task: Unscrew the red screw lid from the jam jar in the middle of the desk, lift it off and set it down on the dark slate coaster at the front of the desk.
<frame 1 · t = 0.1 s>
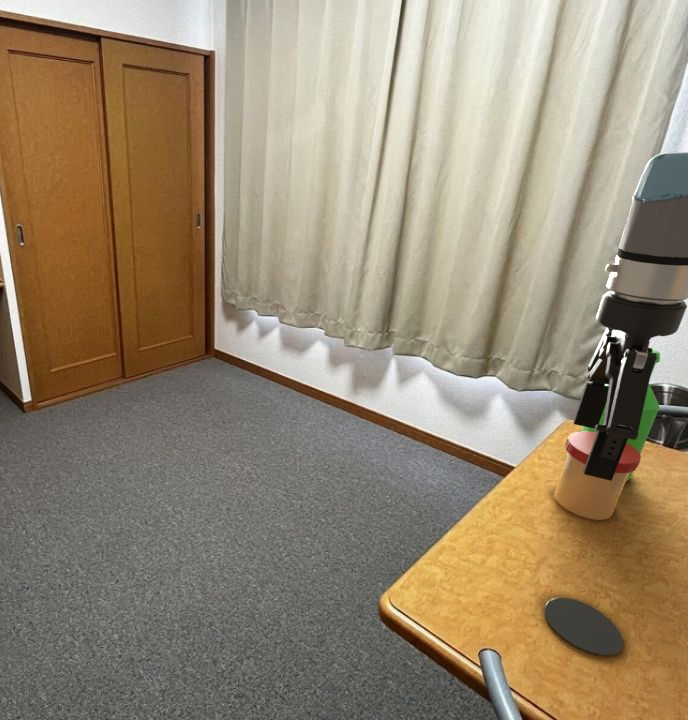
hand: (590, 448, 64), 19 cm above the table, tool pointing down, fingers open, 13 cm apart
bottle: (598, 472, 90), on the table
lid: (602, 448, 77), point 12 cm above the table, screwed on, not yet turned
jam jar: (581, 505, 81), on the table
coaster: (580, 628, 60), on the table
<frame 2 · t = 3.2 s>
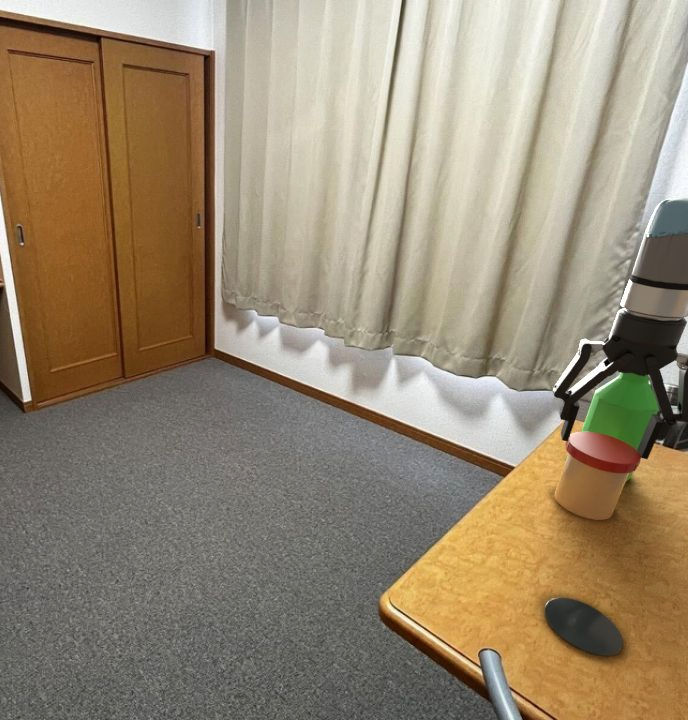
hand: (602, 445, 76), 12 cm above the table, tool pointing down
lid: (602, 448, 77), point 12 cm above the table, screwed on, not yet turned, touching gripper
everything else where it was.
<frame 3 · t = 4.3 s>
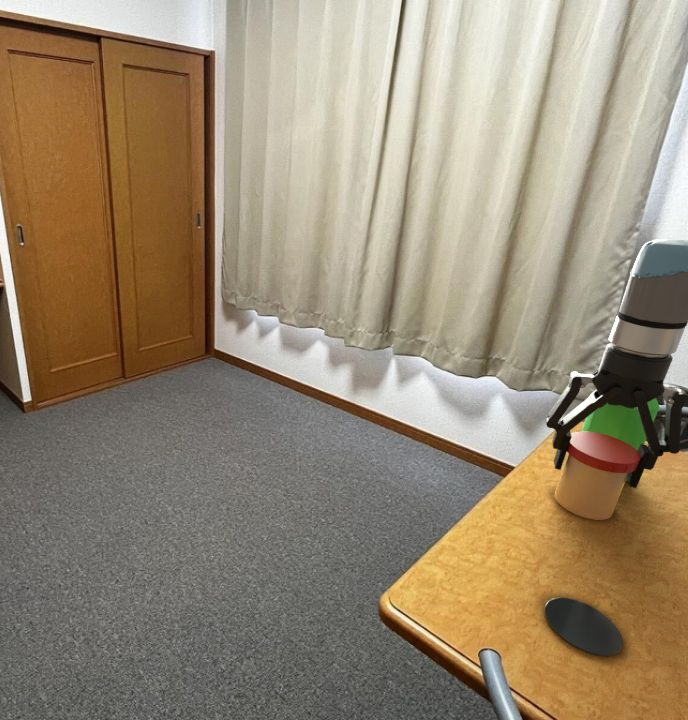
hand: (593, 473, 78), 7 cm above the table, tool pointing down, fingers closed on lid, 9 cm apart
lid: (602, 448, 77), point 12 cm above the table, screwed on, not yet turned, touching gripper
everything else where it was.
when the fingers open (0 cm above the table, at t = 25.6 s): lid stays where it is, point 1 cm above the table.
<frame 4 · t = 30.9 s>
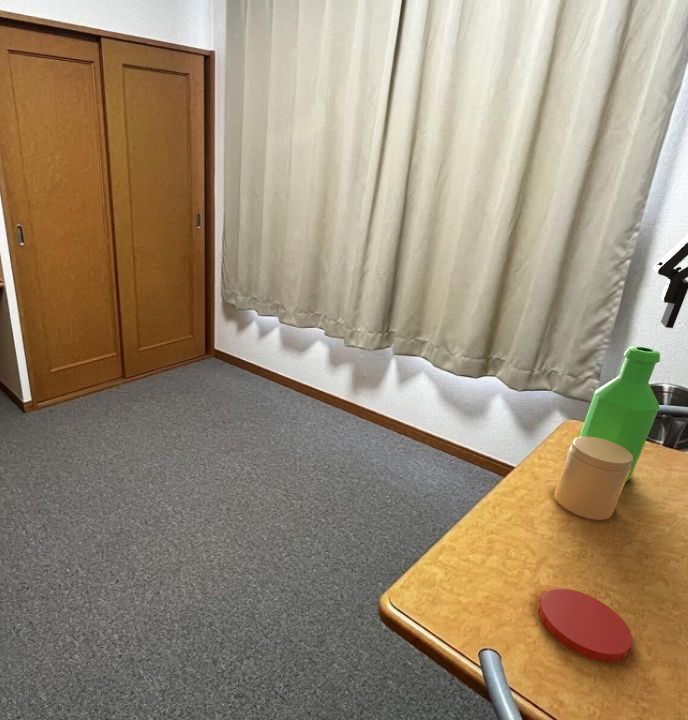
lid: (583, 621, 60), point 1 cm above the table, off its thread
everything else where it was.
at the end: lid inside the target area on the coaster (0.0 cm from its centre), point 1.4 cm above the coaster's base; lid point 1.4 cm above the table; the gripper is holding nothing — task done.
